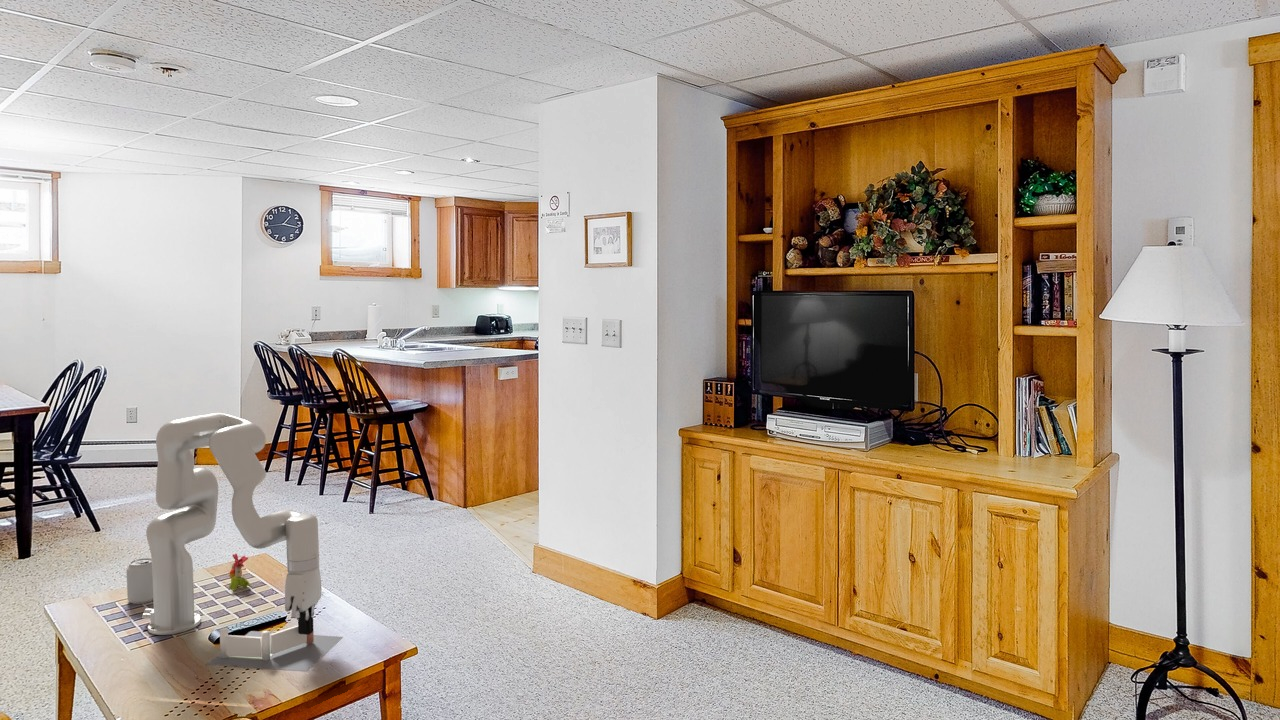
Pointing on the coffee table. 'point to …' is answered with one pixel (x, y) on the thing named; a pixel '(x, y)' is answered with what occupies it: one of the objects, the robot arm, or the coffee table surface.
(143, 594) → the can
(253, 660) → the card
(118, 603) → the coffee table surface
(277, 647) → the fence swing section
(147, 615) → the robot arm
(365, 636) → the coffee table surface
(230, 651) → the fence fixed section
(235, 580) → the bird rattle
